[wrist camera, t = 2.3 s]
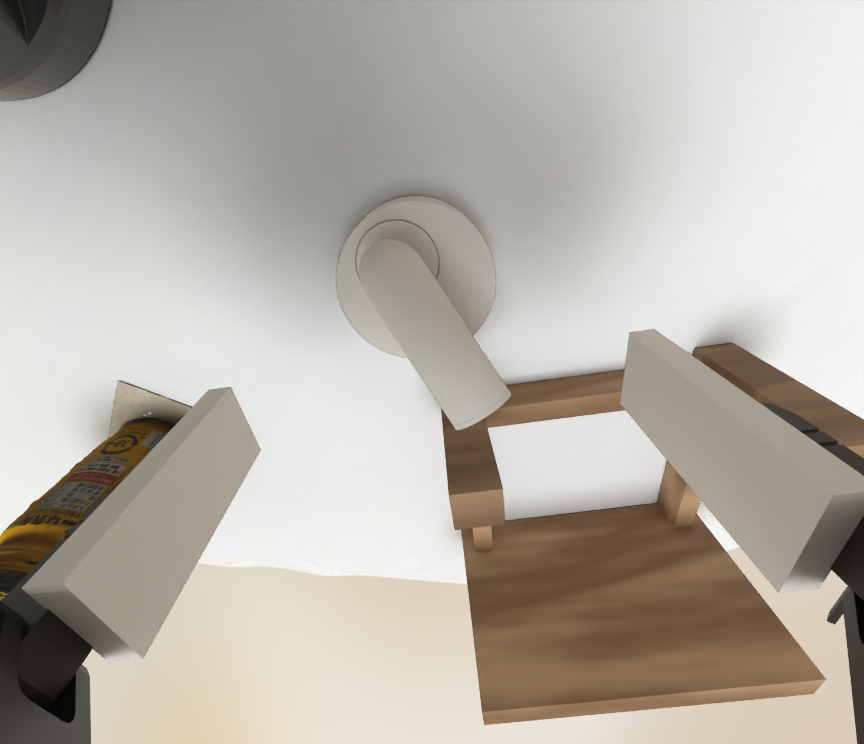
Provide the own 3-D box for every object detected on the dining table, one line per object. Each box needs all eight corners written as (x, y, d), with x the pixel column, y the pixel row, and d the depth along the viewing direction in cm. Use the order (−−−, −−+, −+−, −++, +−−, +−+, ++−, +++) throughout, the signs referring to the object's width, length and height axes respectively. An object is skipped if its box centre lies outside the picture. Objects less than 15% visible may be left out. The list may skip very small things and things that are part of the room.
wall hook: (417, 481, 17) (246, 324, 13) (418, 377, 26) (312, 260, 21) (585, 388, 15) (441, 159, 11) (526, 306, 23) (432, 159, 19)
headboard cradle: (439, 382, 26) (454, 555, 15) (732, 342, 25) (991, 494, 14) (463, 540, 34) (484, 724, 23) (681, 514, 34) (813, 693, 22)
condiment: (105, 461, 29) (-75, 634, 18) (119, 379, 25) (-94, 535, 15) (202, 492, 30) (90, 664, 20) (229, 420, 27) (110, 583, 17)
